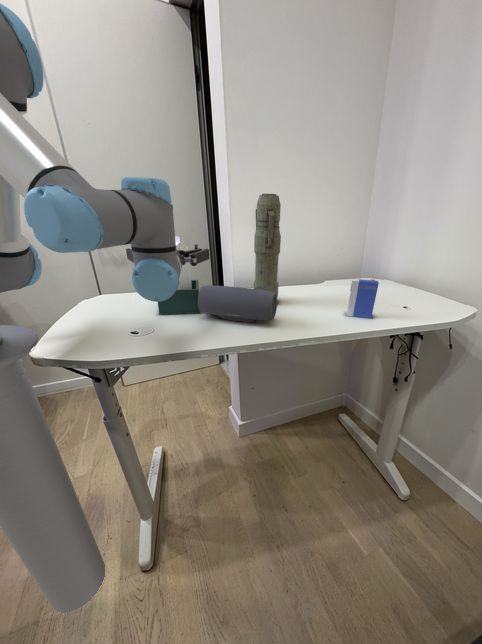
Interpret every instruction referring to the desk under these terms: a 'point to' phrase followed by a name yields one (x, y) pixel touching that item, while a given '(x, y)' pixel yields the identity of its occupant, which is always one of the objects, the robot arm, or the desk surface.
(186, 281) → the milk
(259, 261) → the thermos
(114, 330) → the desk surface
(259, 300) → the bluetooth speaker
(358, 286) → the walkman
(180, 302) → the box
